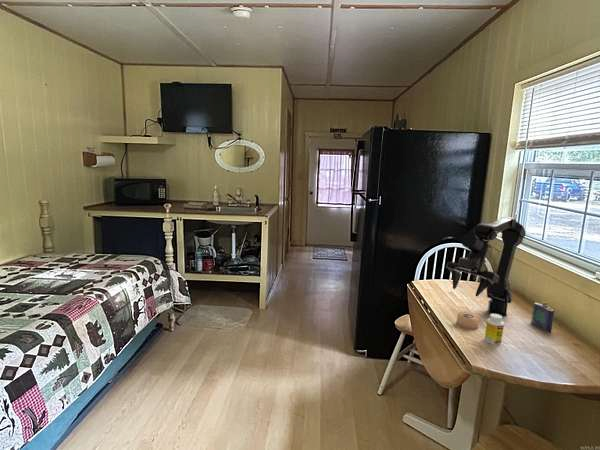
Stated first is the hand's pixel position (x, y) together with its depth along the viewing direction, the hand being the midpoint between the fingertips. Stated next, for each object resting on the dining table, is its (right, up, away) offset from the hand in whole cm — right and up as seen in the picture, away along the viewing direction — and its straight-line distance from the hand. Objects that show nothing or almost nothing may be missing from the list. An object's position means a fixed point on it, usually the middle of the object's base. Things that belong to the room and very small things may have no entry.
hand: (464, 292), depth 140 cm
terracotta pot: (+4, -15, +6) cm, 16 cm away
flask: (+34, -16, +7) cm, 38 cm away
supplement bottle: (+7, -17, -7) cm, 20 cm away
